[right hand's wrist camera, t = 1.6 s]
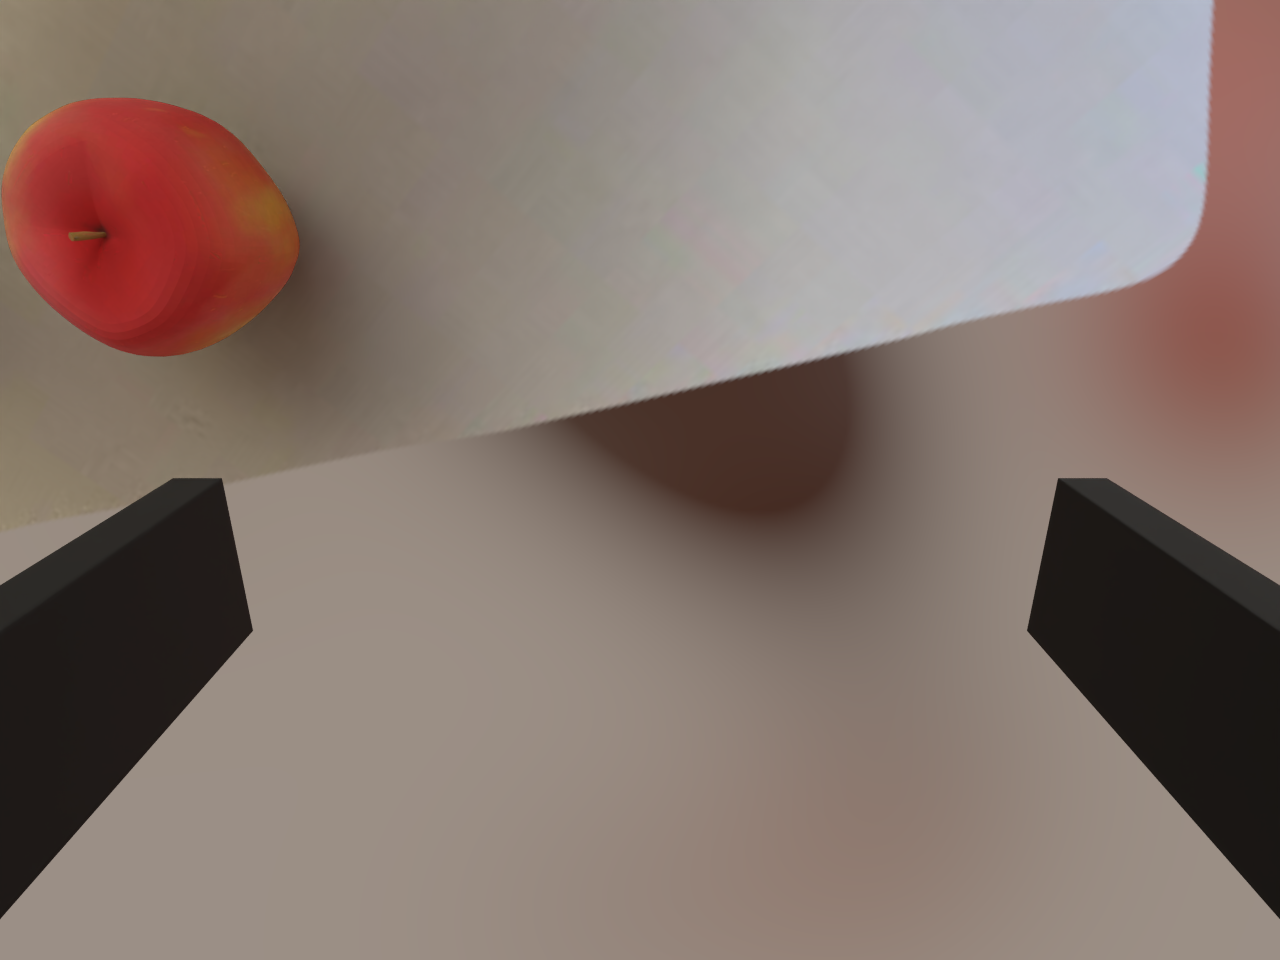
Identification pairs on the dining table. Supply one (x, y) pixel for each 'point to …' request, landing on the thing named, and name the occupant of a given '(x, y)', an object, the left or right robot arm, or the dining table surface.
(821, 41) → the dining table surface
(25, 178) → the apple
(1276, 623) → the right robot arm
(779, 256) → the dining table surface
